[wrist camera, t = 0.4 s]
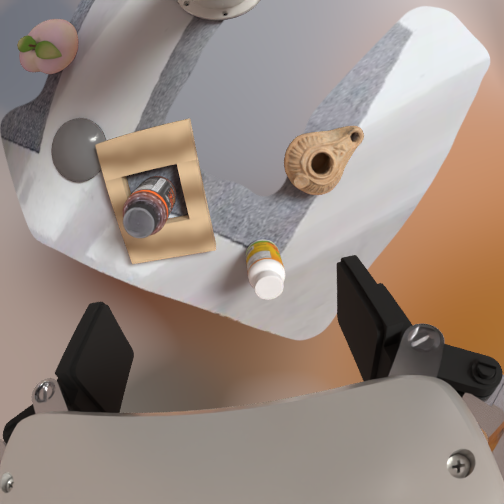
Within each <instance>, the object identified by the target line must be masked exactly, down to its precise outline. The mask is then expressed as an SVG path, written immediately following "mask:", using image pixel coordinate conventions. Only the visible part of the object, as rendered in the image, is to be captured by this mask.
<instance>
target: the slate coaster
mask: <svg viewBox="0 0 504 504" xmlns="http://www.w3.org/2000/svg"><path fill="white" fill-rule="evenodd" d="M104 141H106V138H105V136H104V133H103V131H102V130H101V128H100V127H99V126H98V125H97V124H96V123H94V122H93V121H91V120H88V119H84V118H78V119H73V120H70V121H68V122H66V123H65V124H63V125H62V126H61V127H60V129H59V130H58V131H57V133H56V135H55V137H54V140H53V144H52V158H53V161H54V164H55V166H56V168H57V170H58V171H59V172H60V174H61V175H62V176H64V177H65V178H67V179H68V180H71V181H75V182H82V181H86V180H89V179H91V178H92V177H94V176H95V175H96V174H97V173H98V172H99V171H100V170H101V165H100V162H99V158H98V154H97V150H96V146H95V145H96V144H98V143H101V142H104Z"/></svg>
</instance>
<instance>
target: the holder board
mask: <svg viewBox="0 0 504 504" xmlns="http://www.w3.org/2000/svg"><path fill="white" fill-rule="evenodd" d="M95 146H96V150H97V154H98V158H99V162H100V165H101V169H102V173H103V176H104V180H105V183H106V187H107V190H108V194H109V197H110V200H111V203H112V207H113V210H114V213H115V216H116V219H117V222H118V225H119V228H120V231H121V234H122V237H123V239H124V242H125V245H126V248H127V251H128V253H129V256H130V259H131V261H132V264H137V263H143V262H148V261H154V260H160V259H166V258H172V257H178V256H184V255H190V254H196V253H202V252H208V251H214V250H216V242H215V237H214V233H213V228H212V224H211V219H210V214H209V210H208V205H207V200H206V196H205V191H204V186H203V181H202V176H201V172H200V167H199V162H198V157H197V152H196V147H195V142H194V136H193V131H192V126H191V120H190V119H185V120H181V121H176V122H172V123H168V124H163V125H159V126H155V127H152V128H148V129H144V130H140V131H137V132H133V133H130V134H126V135H123V136H119V137H116V138H113V139H110V140H107V141H104V142H101V143H98V144H96V145H95ZM173 164H177V167H178V172H179V176H180V181H181V185H182V189H183V194H184V198H185V202H186V206H187V210H188V214H189V215H184V216H179V217H174V218H169V219H167V221H166V223H165V225H164V226H163V228H162V229H161V230H160V231H159V232H157V233H156V234H153V235H150V236H148V237H145V238H135V237H132V236H131V235H129V234H128V233H127V232H126V230H125V228H124V225H123V213H122V212H123V206H124V204H125V202H126V200H127V199H128V198H129V197H130V195H131V192H130V189H129V185H128V181H127V178H126V176H127V175H131V174H135V173H139V172H143V171H147V170H151V169H156V168H160V167H164V166H169V165H173Z"/></svg>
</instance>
